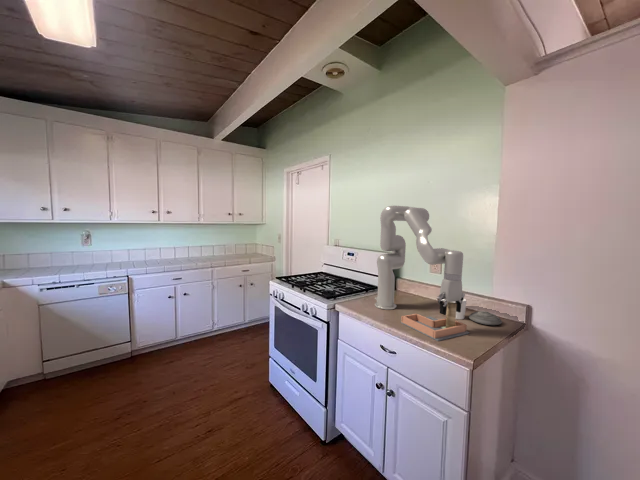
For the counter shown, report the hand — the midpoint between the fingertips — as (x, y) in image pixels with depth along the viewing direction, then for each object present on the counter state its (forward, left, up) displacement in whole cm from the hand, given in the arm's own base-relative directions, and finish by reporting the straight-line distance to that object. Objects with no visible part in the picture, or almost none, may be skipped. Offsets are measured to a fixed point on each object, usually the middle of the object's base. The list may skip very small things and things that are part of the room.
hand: (450, 312), depth 132 cm
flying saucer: (0, +27, -9) cm, 28 cm away
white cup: (-10, +19, -8) cm, 23 cm away
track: (-4, -5, -8) cm, 11 cm away
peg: (0, 0, -7) cm, 7 cm away
